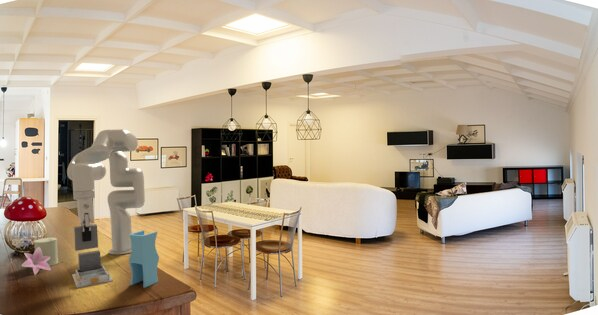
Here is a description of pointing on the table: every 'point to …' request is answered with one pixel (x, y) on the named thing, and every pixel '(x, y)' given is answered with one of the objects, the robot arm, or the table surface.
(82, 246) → the panel
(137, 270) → the blue tall curved block
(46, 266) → the lily
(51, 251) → the can
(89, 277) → the rack
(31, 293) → the table surface
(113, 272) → the table surface
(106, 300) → the table surface
